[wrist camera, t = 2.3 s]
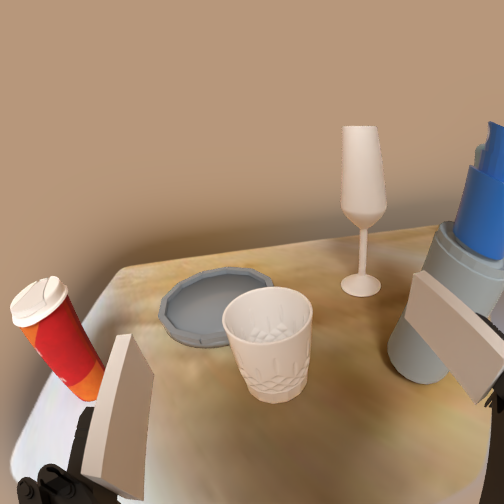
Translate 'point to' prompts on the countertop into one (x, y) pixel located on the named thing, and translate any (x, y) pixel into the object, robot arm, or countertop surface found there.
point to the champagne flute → (362, 197)
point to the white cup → (271, 341)
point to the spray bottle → (462, 259)
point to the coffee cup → (59, 336)
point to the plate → (206, 304)
